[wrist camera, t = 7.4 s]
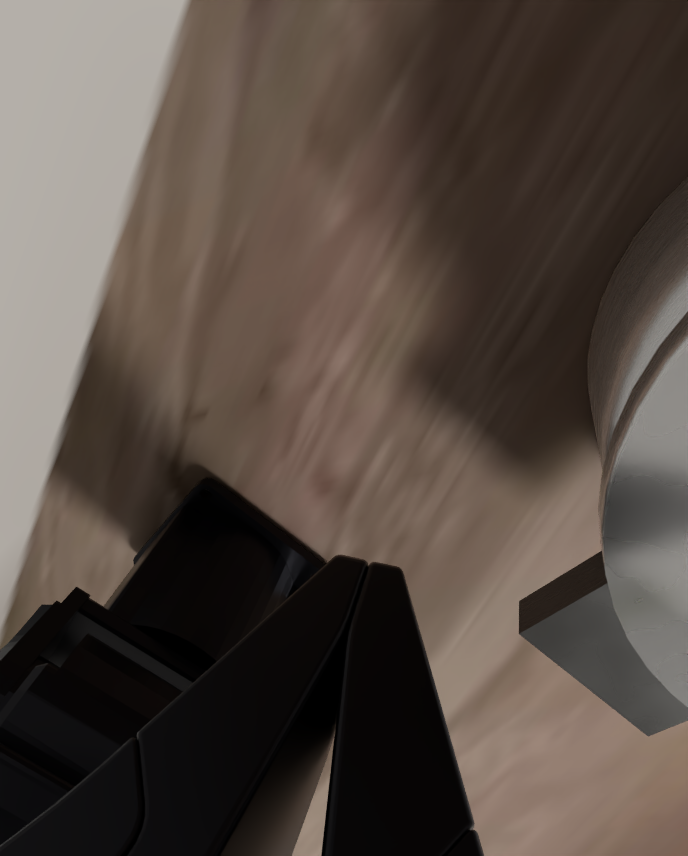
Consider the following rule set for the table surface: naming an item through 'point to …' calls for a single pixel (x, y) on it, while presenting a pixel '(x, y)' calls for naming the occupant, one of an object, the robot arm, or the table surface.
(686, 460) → the cooker lid
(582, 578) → the pressure cooker pot
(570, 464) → the table surface
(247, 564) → the robot arm
